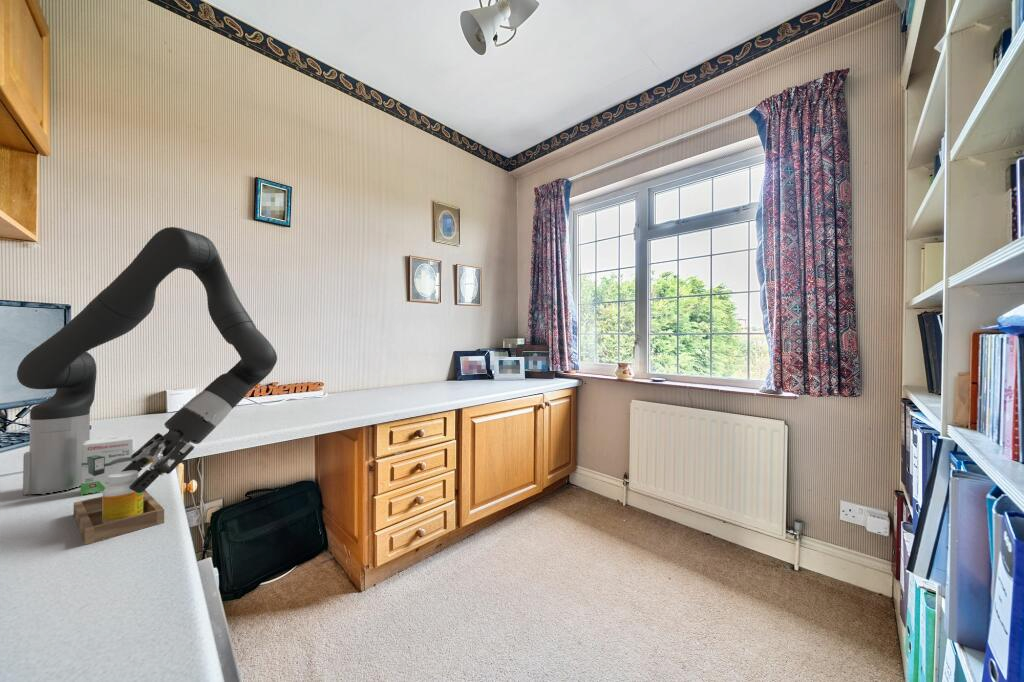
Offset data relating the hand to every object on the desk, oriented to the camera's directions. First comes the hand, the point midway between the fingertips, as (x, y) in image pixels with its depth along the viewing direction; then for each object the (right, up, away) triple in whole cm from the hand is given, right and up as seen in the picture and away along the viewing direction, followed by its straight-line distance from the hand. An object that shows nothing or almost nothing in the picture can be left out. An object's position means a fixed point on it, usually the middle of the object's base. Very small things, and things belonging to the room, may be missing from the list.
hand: (126, 486), depth 71 cm
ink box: (-23, -8, +18) cm, 31 cm away
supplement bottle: (0, -7, 0) cm, 7 cm away
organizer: (-4, -7, +2) cm, 9 cm away
